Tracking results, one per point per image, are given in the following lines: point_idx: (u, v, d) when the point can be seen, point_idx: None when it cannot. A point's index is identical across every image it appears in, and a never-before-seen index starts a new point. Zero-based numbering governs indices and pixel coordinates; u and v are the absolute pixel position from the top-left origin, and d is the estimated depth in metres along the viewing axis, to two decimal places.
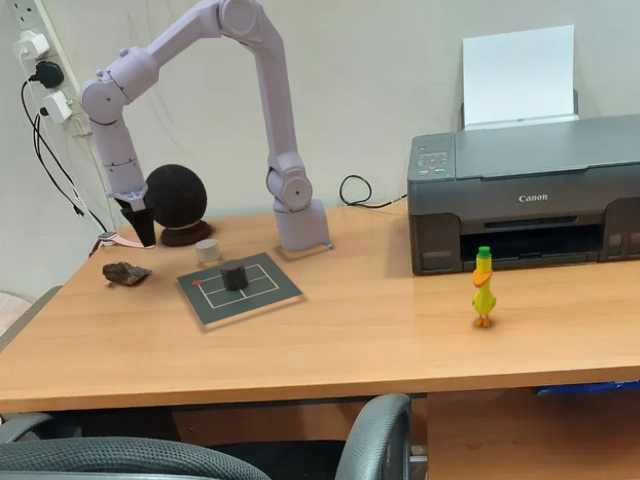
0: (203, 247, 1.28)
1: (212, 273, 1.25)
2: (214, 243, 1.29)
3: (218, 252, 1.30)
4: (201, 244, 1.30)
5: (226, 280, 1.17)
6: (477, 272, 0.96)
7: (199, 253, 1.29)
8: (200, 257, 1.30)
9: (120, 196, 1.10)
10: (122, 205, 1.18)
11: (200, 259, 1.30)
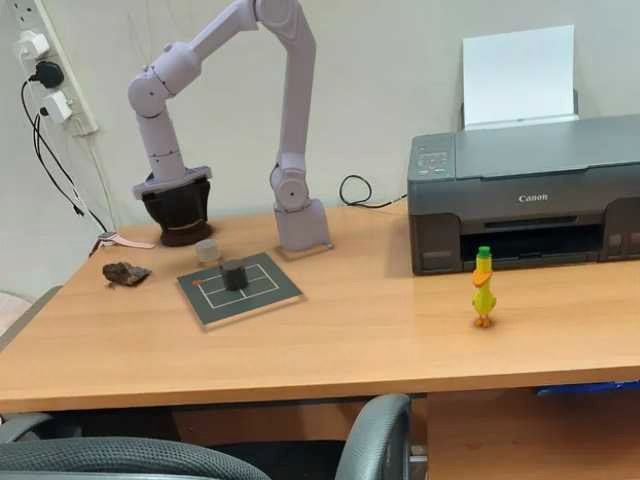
0: (203, 247, 1.28)
1: (212, 273, 1.25)
2: (214, 243, 1.29)
3: (218, 252, 1.30)
4: (201, 244, 1.30)
5: (226, 280, 1.17)
6: (477, 272, 0.96)
7: (199, 253, 1.29)
8: (200, 257, 1.30)
9: (150, 180, 1.19)
10: (192, 189, 1.24)
11: (200, 259, 1.30)
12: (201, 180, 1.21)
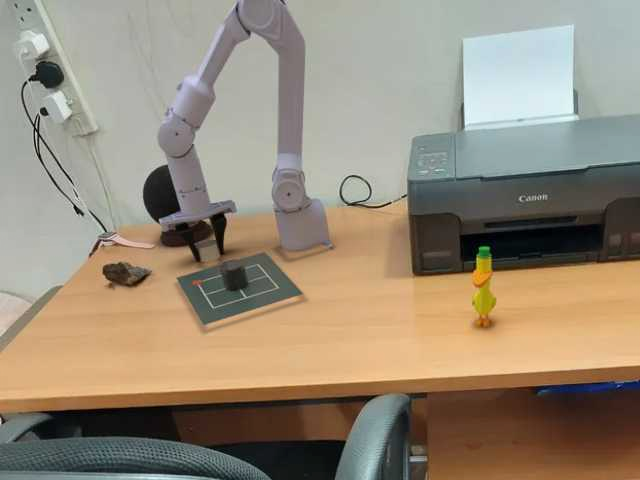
0: (203, 247, 1.28)
1: (212, 273, 1.25)
2: (214, 243, 1.29)
3: (218, 252, 1.30)
4: (201, 244, 1.30)
5: (226, 280, 1.17)
6: (477, 272, 0.96)
7: (199, 253, 1.29)
8: (200, 257, 1.30)
9: (177, 213, 1.26)
10: (211, 223, 1.30)
11: (200, 259, 1.30)
12: (218, 216, 1.27)
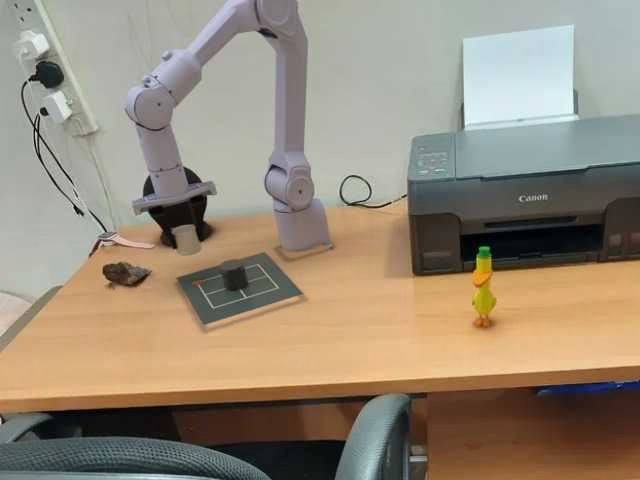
0: (180, 233, 1.16)
1: (212, 273, 1.25)
2: (192, 229, 1.17)
3: (197, 239, 1.18)
4: (178, 230, 1.18)
5: (226, 280, 1.17)
6: (477, 272, 0.96)
7: (176, 240, 1.17)
8: (177, 244, 1.18)
9: None
10: (189, 207, 1.18)
11: (177, 246, 1.18)
12: (197, 198, 1.15)
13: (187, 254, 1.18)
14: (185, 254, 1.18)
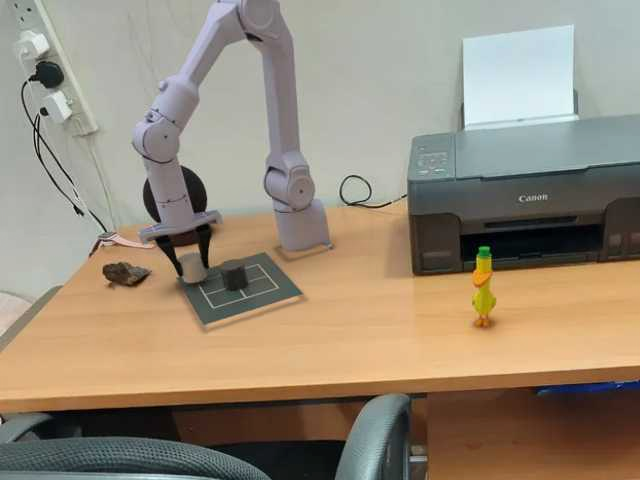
0: (186, 261, 1.18)
1: (212, 273, 1.25)
2: (198, 257, 1.19)
3: (202, 266, 1.20)
4: (183, 258, 1.20)
5: (226, 280, 1.17)
6: (477, 272, 0.96)
7: (182, 267, 1.19)
8: (183, 271, 1.20)
9: (158, 224, 1.16)
10: (195, 235, 1.20)
11: (183, 274, 1.20)
12: (203, 227, 1.17)
13: (193, 281, 1.20)
14: (191, 281, 1.20)
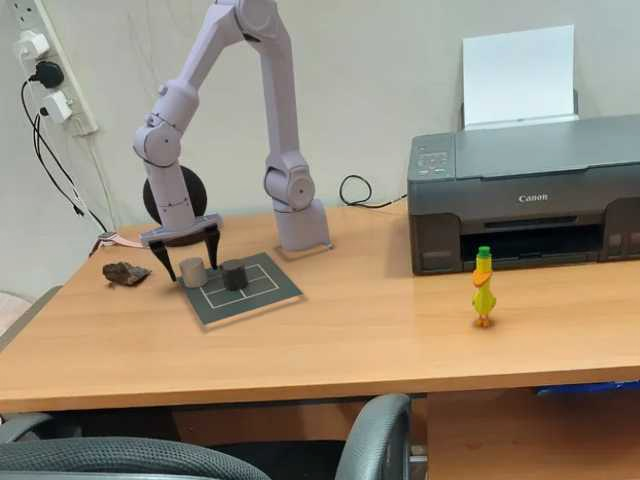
0: (187, 266, 1.19)
1: (212, 273, 1.25)
2: (199, 262, 1.20)
3: (204, 271, 1.21)
4: (185, 263, 1.20)
5: (226, 280, 1.17)
6: (477, 272, 0.96)
7: (183, 272, 1.20)
8: (184, 276, 1.20)
9: (159, 228, 1.17)
10: (203, 236, 1.21)
11: (184, 279, 1.21)
12: (211, 229, 1.18)
13: (194, 286, 1.21)
14: (192, 286, 1.21)
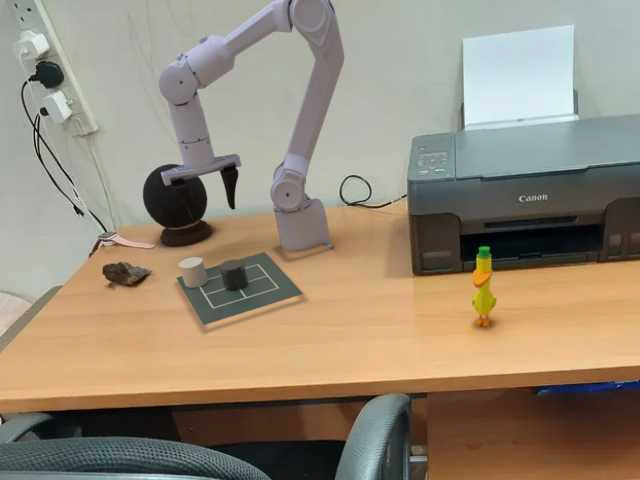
0: (187, 266, 1.19)
1: (212, 273, 1.25)
2: (199, 262, 1.20)
3: (204, 271, 1.21)
4: (185, 263, 1.20)
5: (226, 280, 1.17)
6: (477, 272, 0.96)
7: (183, 272, 1.20)
8: (184, 276, 1.20)
9: (180, 166, 1.22)
10: (222, 177, 1.26)
11: (184, 279, 1.21)
12: (230, 168, 1.23)
13: (194, 286, 1.21)
14: (192, 286, 1.21)
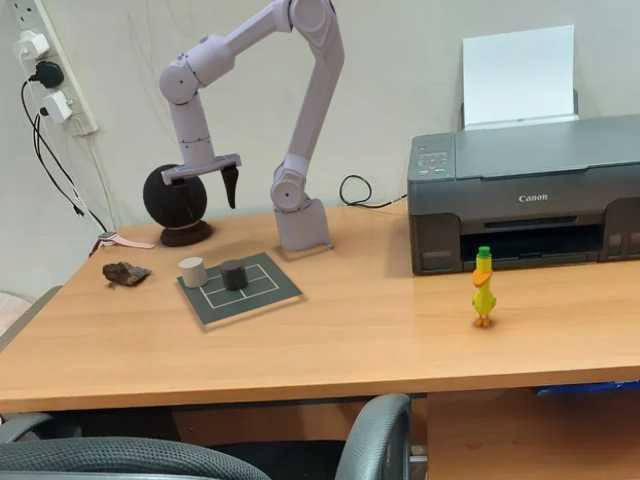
0: (187, 266, 1.19)
1: (212, 273, 1.25)
2: (199, 262, 1.20)
3: (204, 271, 1.21)
4: (185, 263, 1.20)
5: (226, 280, 1.17)
6: (477, 272, 0.96)
7: (183, 272, 1.20)
8: (184, 276, 1.20)
9: (180, 166, 1.22)
10: (222, 176, 1.26)
11: (184, 279, 1.21)
12: (230, 167, 1.23)
13: (194, 286, 1.21)
14: (192, 286, 1.21)
